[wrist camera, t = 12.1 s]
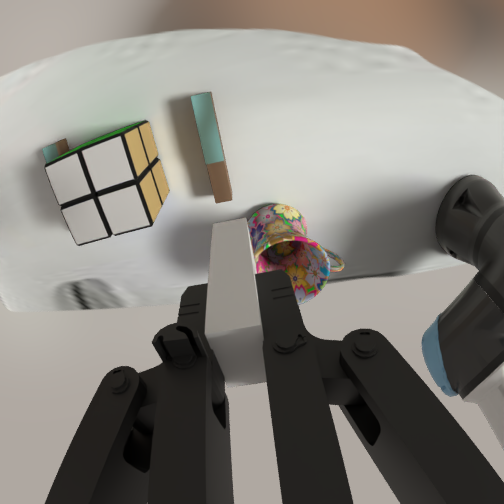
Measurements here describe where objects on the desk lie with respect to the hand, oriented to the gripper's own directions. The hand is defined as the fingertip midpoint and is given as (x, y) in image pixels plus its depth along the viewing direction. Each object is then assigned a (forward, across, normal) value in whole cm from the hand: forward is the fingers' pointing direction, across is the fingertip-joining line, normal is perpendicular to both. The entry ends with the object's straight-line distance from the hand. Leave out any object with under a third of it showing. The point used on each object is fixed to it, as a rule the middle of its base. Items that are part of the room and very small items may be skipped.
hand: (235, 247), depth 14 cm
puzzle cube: (+25, +14, 0) cm, 28 cm away
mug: (+25, -5, +13) cm, 28 cm away
